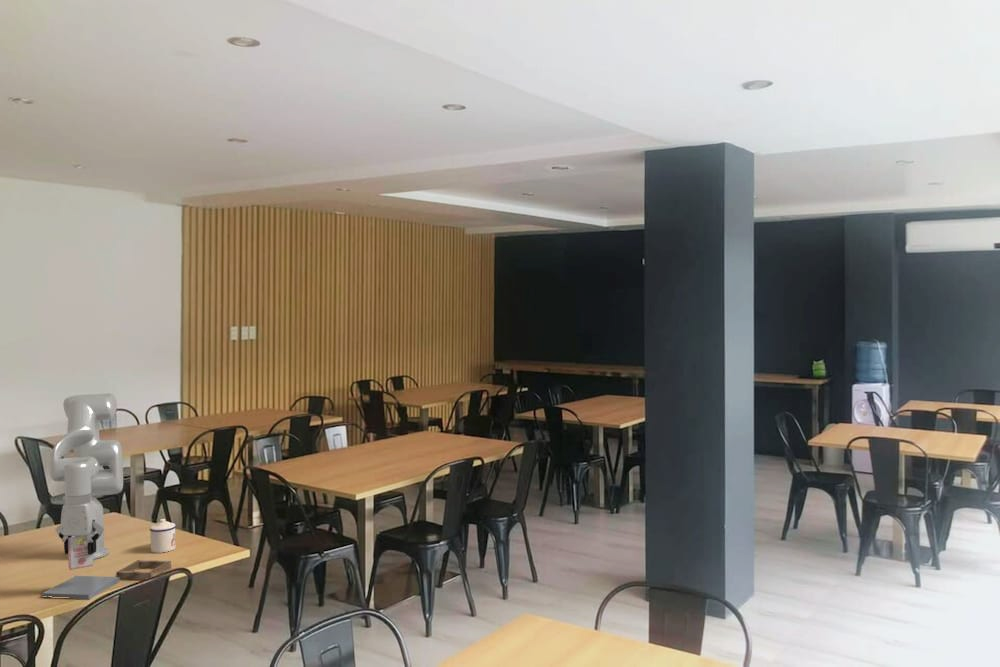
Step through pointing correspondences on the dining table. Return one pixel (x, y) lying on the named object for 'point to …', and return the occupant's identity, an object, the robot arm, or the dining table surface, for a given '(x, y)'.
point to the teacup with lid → (163, 536)
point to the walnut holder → (130, 571)
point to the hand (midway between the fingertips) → (80, 552)
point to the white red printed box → (79, 553)
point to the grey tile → (82, 587)
